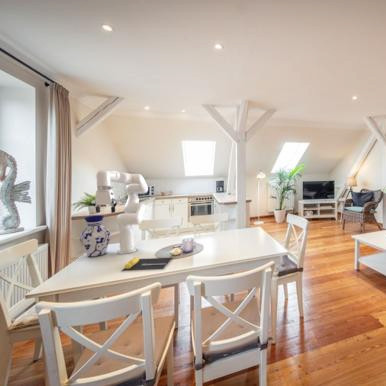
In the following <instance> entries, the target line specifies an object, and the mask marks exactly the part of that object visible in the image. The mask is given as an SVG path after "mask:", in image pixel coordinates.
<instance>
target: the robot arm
mask: <svg viewBox="0 0 386 386" xmlns="http://www.w3.org/2000/svg"><path fill="white" fill-rule="evenodd" d="M95 179H96V191H95V198H94V199H93V200H91V201H90V203H91V204H92V206H93V207H94V208H95V213H96V214H99V213H101V207H100V206H101V205H102V206H103V205H104V206H105V205H106V206H108V205H109V206H111V207H110V211H111V212H110V213H111V214H114V213H116V207H117V205H118V204H119V202H120V201H119V200H118V199H116V198H115V194H114V191H113V186H112V183H118V184H119V183H120V184H127V185H126V186H125V192H126V194H127V200H126V202H125V205H124V206H123V213H120V214H118V215H117V217H116V223H117V226H118V236H119V250H118V251H117V253H118V254H120V255H125V254H131V253H134V252H136V251H137V247H135V246H136V245H137V243H135V240H134V238H135V237H134V228H133V227H132V226H138V225H140V224H141V223H142V221H143V219H144V217H145V213H146V209H147V208H146V204H145V203H143V202H140V198H139V197H138V195H137V194H147V193H148V191H149V186H148V184H147V182H146V180H145V178H144V176H143V175H142V174H141V173H128V172H124V171H118V170H113V169H106V170H105V169H102V170H100V169H99V170H96V172H95Z"/></svg>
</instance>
